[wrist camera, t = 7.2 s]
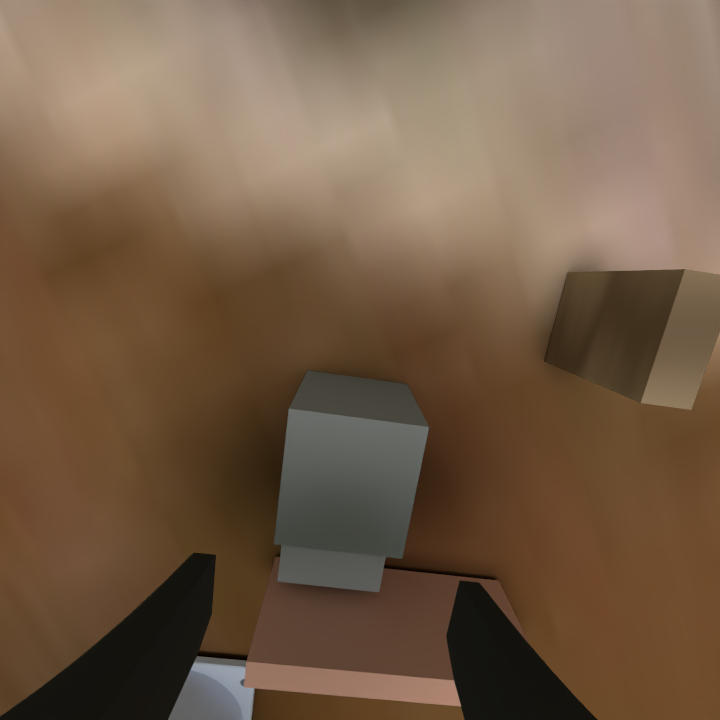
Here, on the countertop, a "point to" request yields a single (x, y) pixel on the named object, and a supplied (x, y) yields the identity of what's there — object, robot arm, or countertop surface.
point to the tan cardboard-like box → (639, 332)
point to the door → (361, 638)
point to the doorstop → (347, 480)
